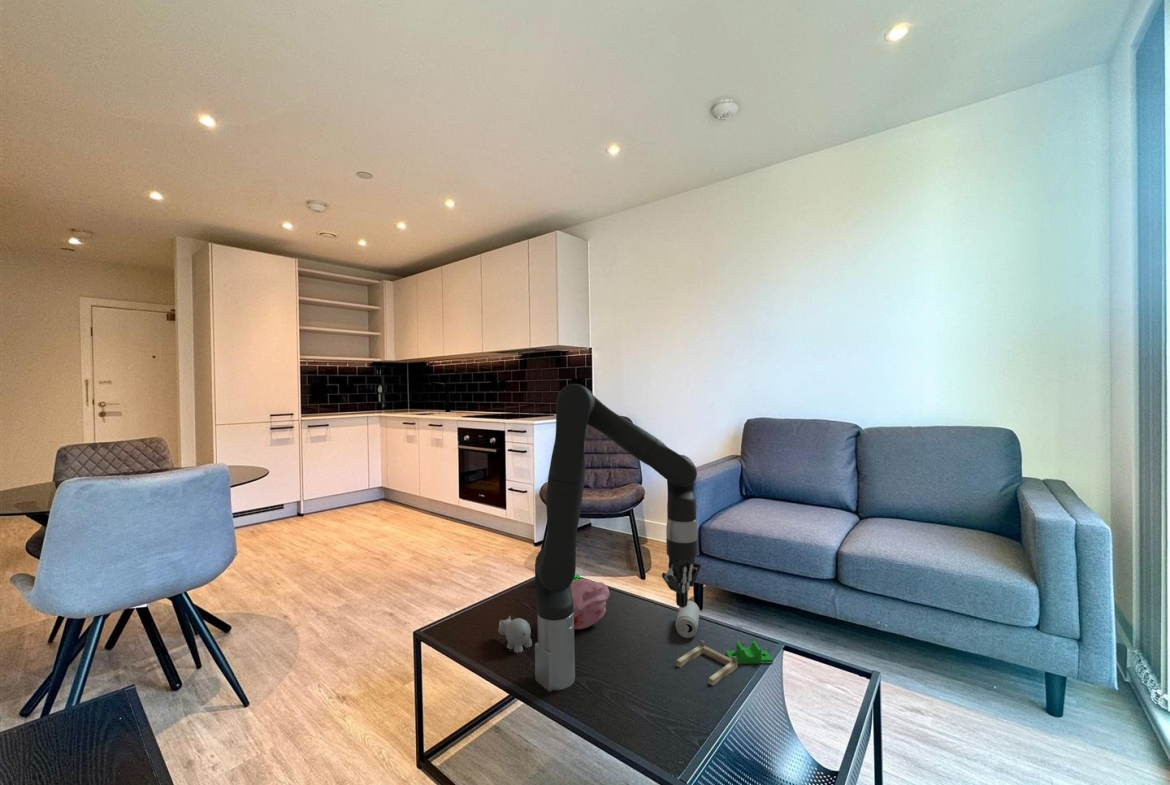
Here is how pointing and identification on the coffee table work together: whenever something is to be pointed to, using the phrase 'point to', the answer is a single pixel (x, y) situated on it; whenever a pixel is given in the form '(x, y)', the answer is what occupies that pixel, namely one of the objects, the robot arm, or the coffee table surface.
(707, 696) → the coffee table surface
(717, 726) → the coffee table surface
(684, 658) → the frame
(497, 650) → the coffee table surface
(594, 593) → the decorative rock
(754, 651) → the pipe clamp
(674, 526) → the robot arm
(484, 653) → the coffee table surface
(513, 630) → the rhino figurine
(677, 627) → the beverage can
